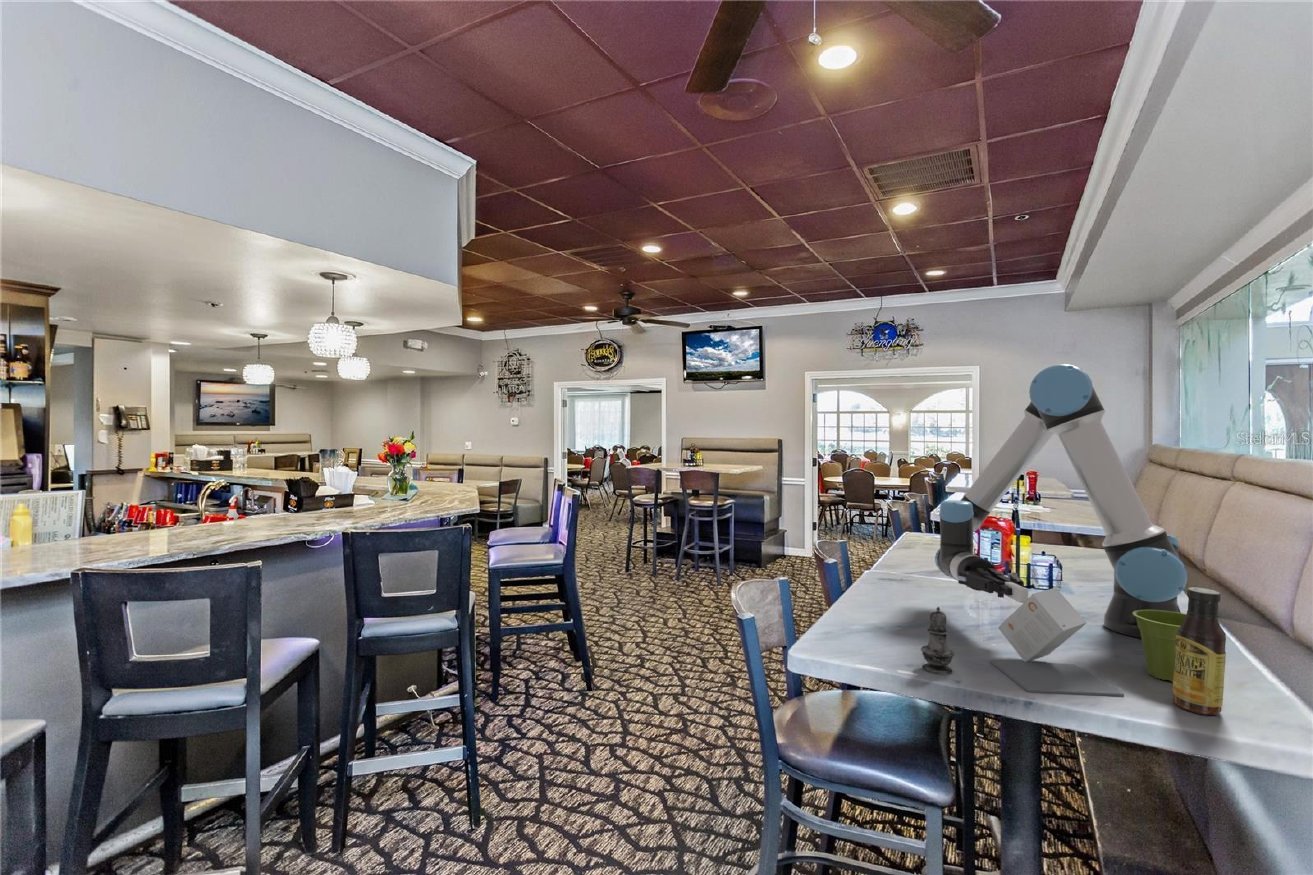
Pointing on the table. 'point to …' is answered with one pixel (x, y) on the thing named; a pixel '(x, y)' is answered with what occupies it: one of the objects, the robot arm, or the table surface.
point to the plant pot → (1159, 640)
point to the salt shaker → (937, 646)
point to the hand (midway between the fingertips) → (1024, 596)
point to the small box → (1041, 624)
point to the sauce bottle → (1200, 655)
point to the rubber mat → (1054, 678)
